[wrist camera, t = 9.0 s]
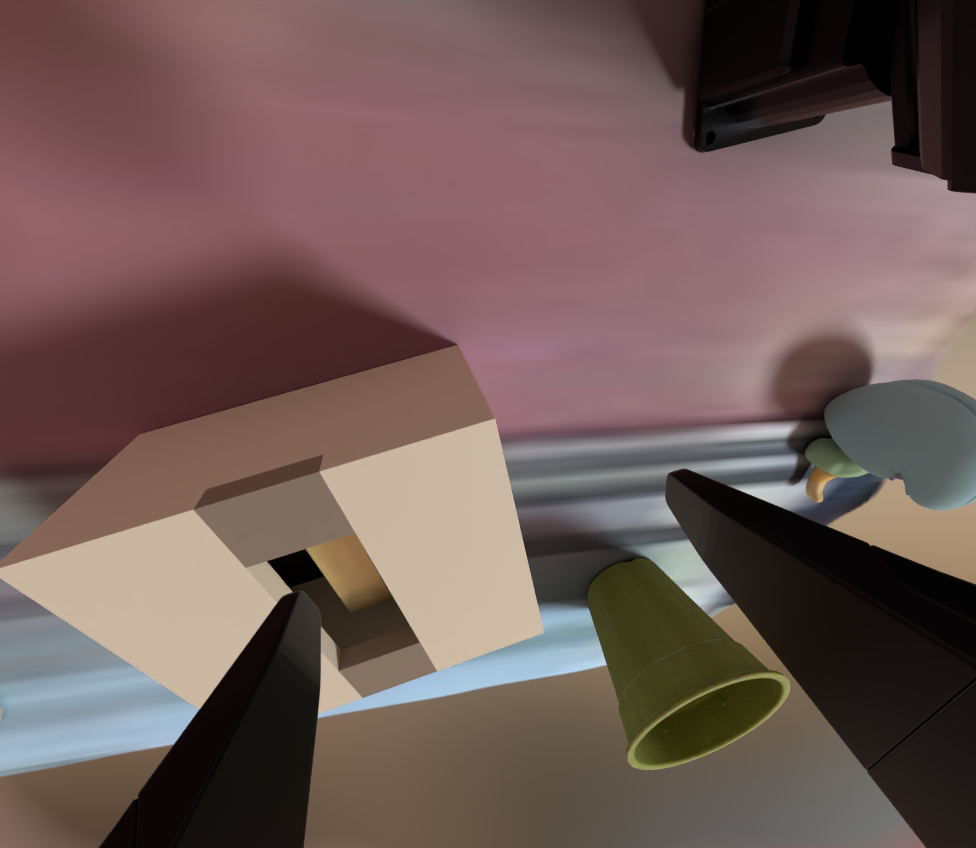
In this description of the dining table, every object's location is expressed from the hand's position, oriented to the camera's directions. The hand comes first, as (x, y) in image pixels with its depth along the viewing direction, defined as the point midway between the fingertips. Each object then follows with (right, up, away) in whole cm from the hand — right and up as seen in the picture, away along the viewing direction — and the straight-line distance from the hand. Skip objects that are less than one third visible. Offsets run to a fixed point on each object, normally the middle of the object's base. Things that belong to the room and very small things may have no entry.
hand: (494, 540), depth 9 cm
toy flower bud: (+27, +2, +21) cm, 35 cm away
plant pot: (+12, -12, +25) cm, 30 cm away
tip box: (-8, -1, +13) cm, 16 cm away
